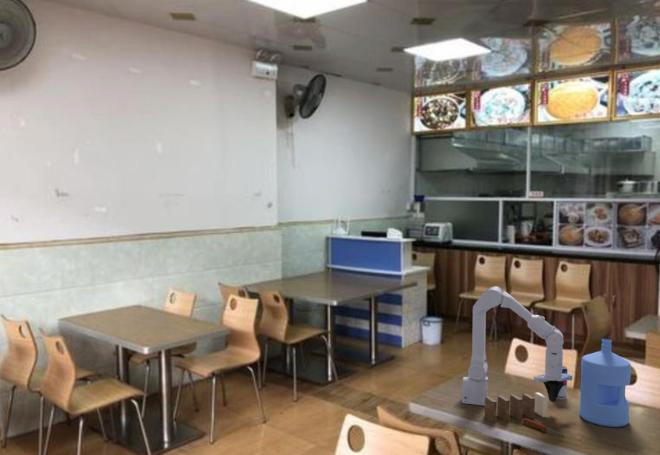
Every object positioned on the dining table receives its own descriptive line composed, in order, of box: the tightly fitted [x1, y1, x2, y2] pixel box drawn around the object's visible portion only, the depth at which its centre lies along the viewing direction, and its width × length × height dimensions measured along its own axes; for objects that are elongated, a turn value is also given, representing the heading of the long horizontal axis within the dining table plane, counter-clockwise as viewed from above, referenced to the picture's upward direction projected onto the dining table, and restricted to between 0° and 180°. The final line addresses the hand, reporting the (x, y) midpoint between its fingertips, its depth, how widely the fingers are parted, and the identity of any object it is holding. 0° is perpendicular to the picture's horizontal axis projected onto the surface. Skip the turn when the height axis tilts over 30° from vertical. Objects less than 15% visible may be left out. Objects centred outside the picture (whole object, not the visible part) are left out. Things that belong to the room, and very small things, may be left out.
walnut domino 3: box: [509, 394, 523, 420], centre depth 194 cm, size 2×5×7 cm, turn 14°
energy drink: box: [556, 365, 568, 400], centre depth 214 cm, size 5×5×12 cm
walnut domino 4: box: [521, 393, 536, 419], centre depth 195 cm, size 2×5×7 cm, turn 14°
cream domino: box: [534, 391, 548, 418], centre depth 197 cm, size 2×5×7 cm, turn 14°
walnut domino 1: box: [484, 396, 498, 423], centre depth 192 cm, size 2×5×7 cm, turn 14°
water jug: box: [578, 338, 632, 428], centre depth 193 cm, size 16×16×28 cm
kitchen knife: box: [521, 417, 566, 439], centre depth 182 cm, size 16×1×2 cm, turn 33°
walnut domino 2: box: [496, 395, 510, 422], centre depth 193 cm, size 2×5×7 cm, turn 14°
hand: (552, 401), depth 198 cm, fingers closed
